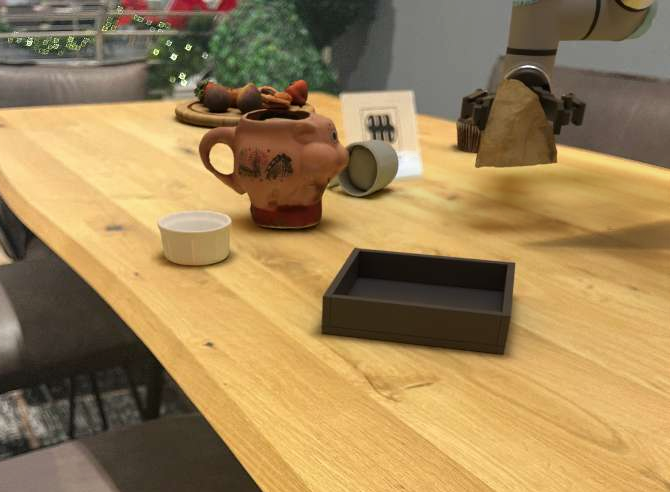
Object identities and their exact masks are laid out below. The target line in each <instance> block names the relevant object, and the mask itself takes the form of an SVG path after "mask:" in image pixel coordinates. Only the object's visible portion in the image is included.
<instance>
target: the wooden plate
mask: <svg viewBox="0 0 670 492" xmlns="http://www.w3.org/2000/svg"><path fill="white" fill-rule="evenodd" d="M210 80H211V78H207V79H205V80H203V81H200V82H198V81H197V82H196V83H195V87H196V88H194V90H193V93H192V94H194V97H196V99H191V100H186V101H183V102H181V103H179V104H177V105H176V106H175V109H174V114H175V116H176V117H177V118H178V119H179V120H180V121H183V122H185V123H189V124H193V125H197V126H198V125H199V126H204V127H205V126H206V127H215V128H217V127H236V126H237V125H238V124H239V121H240V118H241V116H242V115H244V114H246V113H249V112H252V111H256V110H263V109H275V110H293V111H310V112H313V113H316V109H315V107H314V105H312V104H310V103H308V102H307V101H308V98H309V91H308V90H309V89H308V88H309V87H308V84H307V82H306V81H305V80H303V79H297V80H295V81H291V83H289V84H288V86H287V87H285V88H284V89H283V91H281V92H279V91H278V90H276V89H275V88H274V87H272V86H269V85H264V86H261V87H257V86H256V85H255V83H254V82H249V83H247V84H246V85H244V86H243V87H236V88H235V87H234V88H233V87H229V86H223V85H221V84H220V83H218V82H215V81H210Z"/></svg>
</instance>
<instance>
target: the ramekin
mask: <svg viewBox="0 0 670 492" xmlns="http://www.w3.org/2000/svg"><path fill="white" fill-rule="evenodd" d="M157 227H158V229H159V233H160V238H161V244H162V251H163V254H164V257H165V258H166V259H167V260H168V261H170V262H172V263H174V264H178V265H182V266H207V265H212V264H216V263H219V262H222V261H223V260H225V259H227V257H228V256H229V254H230V242H231V241H230V238H231V237H230V235H231V227H232V218H231V216H229V215H227V214H225V213H222V212H219V211H214V210H213V211H211V210H184V211H177V212H173V213H169V214H165V215H164V216H162V217H160V218H159V219H158V220H157Z"/></svg>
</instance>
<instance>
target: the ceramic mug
mask: <svg viewBox="0 0 670 492" xmlns="http://www.w3.org/2000/svg"><path fill="white" fill-rule="evenodd" d="M344 147H345V148H346V149H347V150H348V152H349V162H348V165H347V166H346V168H345V169H344V170H343V171H342V172H340V173H339V174H338V175H337V176H335V177H334V178H333V179H332V180H331V181H330V182H329V184H328V186H329V187H335V186H338V185H339V186H340V188H341V189H342V190H343V191H344V192H345V193H346V194H348V195H349V196H352V197H357V198H358V197H365V196H367V195H370V194H372V193H374V192H377V191H379V190H382V189H384V188H386V187H388V186H389V185H390V184H391V183H392V182H393V181H394V179H395V178H396V177H397V174H398V171H399V167H400V164H399V157H398V154H397V152H396V149H395V148H394V147H393V146H392V145H391V143H389V142H387V141H385V140H381V139H370V140H363V141H362V140H361V141H354V142H351V143H348V144H347V145H346V146H344Z"/></svg>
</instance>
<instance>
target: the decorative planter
mask: <svg viewBox="0 0 670 492" xmlns="http://www.w3.org/2000/svg"><path fill="white" fill-rule="evenodd" d="M218 144H222V145H226V146H228V148H230V150H231V152H232V155H233V171H232V172H231V173H227V174H225V173H223V172H221V171H219V170H218V169H216V168H215V167H214V165H213V164H212V163H211V158H210V154H211V151H212V150H213V148H214V147H215V146H216V145H218ZM345 147H346V146H344V145H343V144H342V143H341V141H340V139H339V136H338V131H337V127H336V125H335V123H334V121H333V119H331V118H329V117H327V116H325V115H322V114H318V113H316V112H315V113H313V112H310V111H293V110H275V109H263V110H256V111H252V112H249V113H246V114H244V115H242V116H241V118H240V121H239V124H238V125H237V126H236V127H215V128H214V127H213V128H212V129H210V130H208V131H207V132H205V133H204V134H203V136H202V137H201V140H200V142H199V144H198V153H199V157H200V161H201V162H202V164H203V166H204V168H205V169H206V170H207V171H209V173H211V174H212V175H213V176H214V177H215V178H216V179H218V180H219V181H221V183H222V184H223V185H225V186H227V187H228V188H229V189H231V190H233V191H234V192H235V193H237V194H239V195H240V196H243V195H246V194H247V196H248V198H249V202H250V207H249V212H250V216H251V219H252V221H253V223H254V224H255V225H257V226H259V227H260V226H261V227H264V228H272V229H273V228H275V229H303V228H304V229H305V228H309V227H313V226H316V225H317V224H318V223H319V222H321V220H322V217H323V196H324V193H325V191H326V189H327V187H328V186H329V182H330V181H331V180H332V179H333V178H334V177H335V176H337V175H338V174H339V173H340V172H342V171H343V170H344V169H345V168H346V166H347V165H348V162H349V152H348V150H347V149H346V148H345Z"/></svg>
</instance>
